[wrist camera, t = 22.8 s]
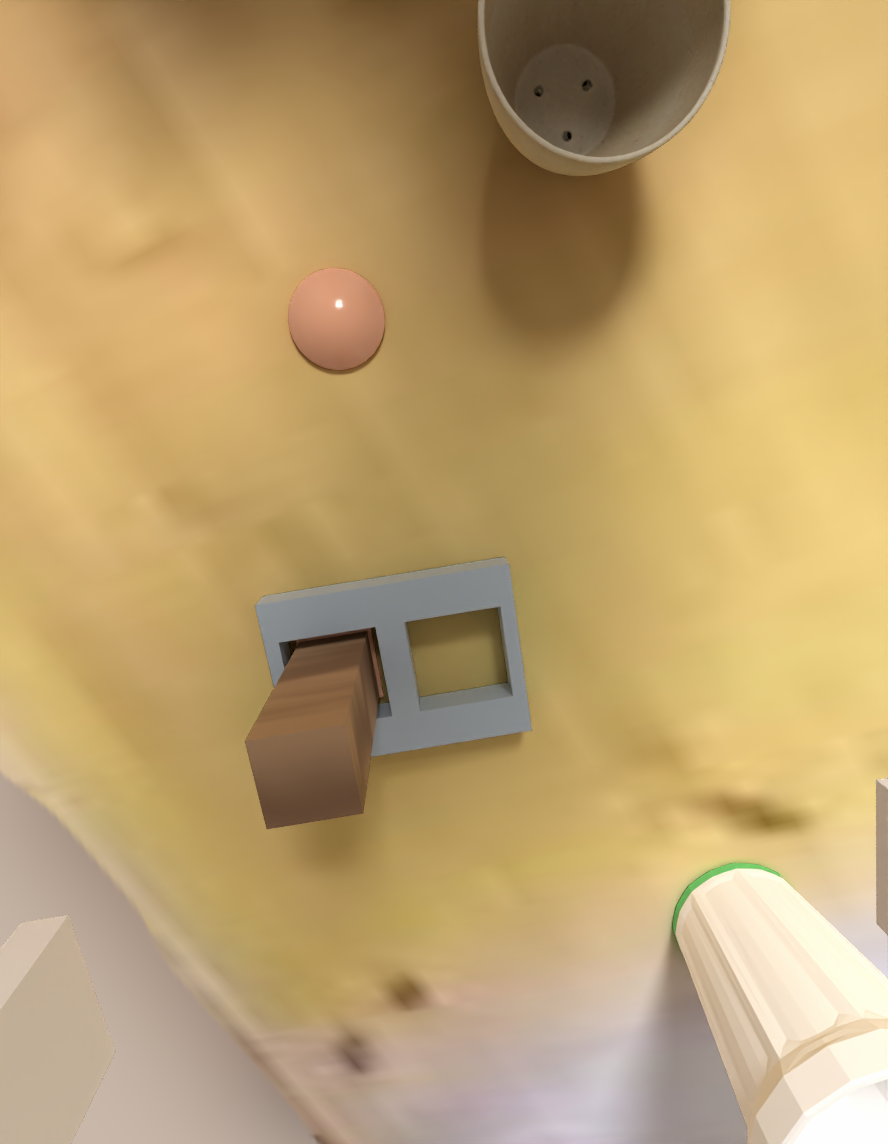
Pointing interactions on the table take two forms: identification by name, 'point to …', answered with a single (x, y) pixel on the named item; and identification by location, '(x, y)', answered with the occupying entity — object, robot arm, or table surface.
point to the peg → (317, 733)
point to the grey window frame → (388, 610)
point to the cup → (787, 1009)
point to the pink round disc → (336, 318)
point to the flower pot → (598, 75)
